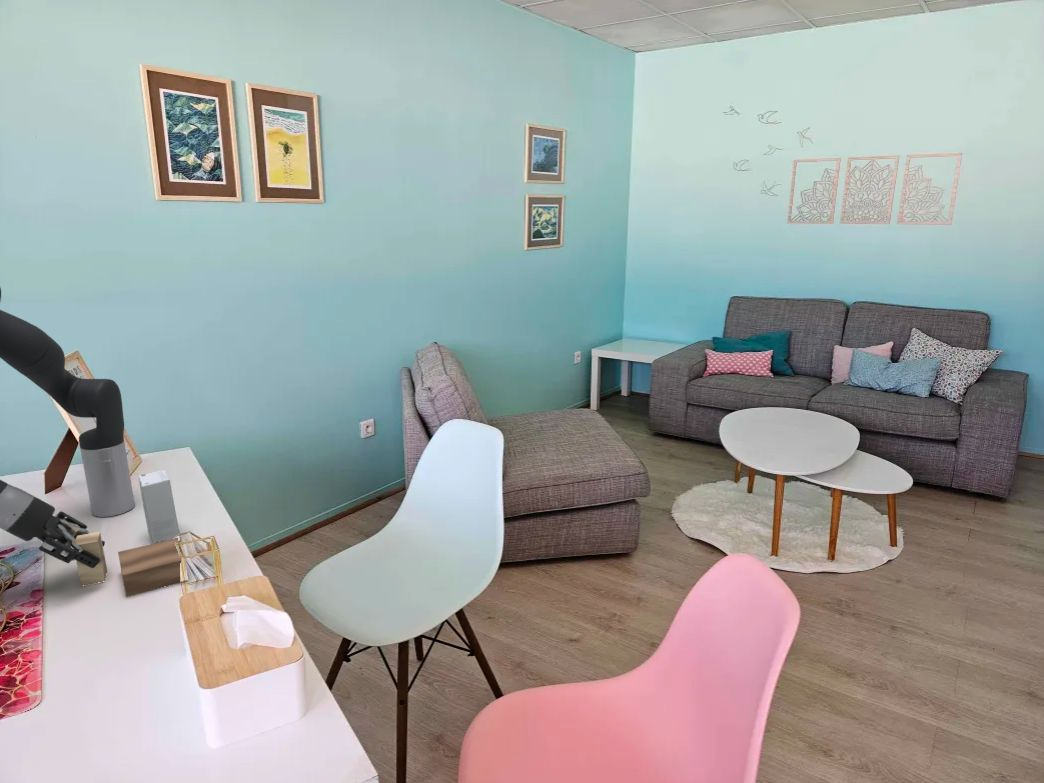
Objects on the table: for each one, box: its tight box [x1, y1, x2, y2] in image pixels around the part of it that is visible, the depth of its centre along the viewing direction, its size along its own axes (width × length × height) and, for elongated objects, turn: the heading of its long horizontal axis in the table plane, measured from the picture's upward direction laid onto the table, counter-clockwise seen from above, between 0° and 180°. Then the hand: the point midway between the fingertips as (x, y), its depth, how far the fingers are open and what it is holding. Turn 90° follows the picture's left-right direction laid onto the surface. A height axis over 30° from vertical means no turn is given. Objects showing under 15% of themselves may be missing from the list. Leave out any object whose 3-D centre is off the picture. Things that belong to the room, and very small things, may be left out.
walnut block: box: [117, 538, 186, 598], centre depth 139 cm, size 11×11×5 cm
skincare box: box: [138, 469, 181, 544], centre depth 154 cm, size 8×6×15 cm
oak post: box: [75, 531, 108, 587], centre depth 138 cm, size 5×4×9 cm
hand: (99, 555), depth 138 cm, fingers open, 7 cm apart
